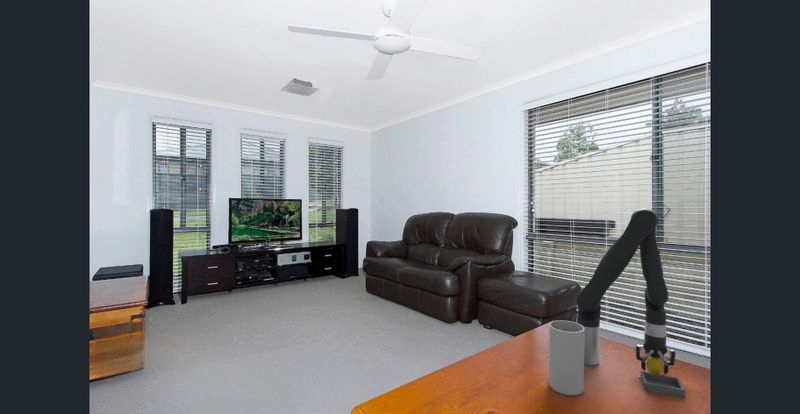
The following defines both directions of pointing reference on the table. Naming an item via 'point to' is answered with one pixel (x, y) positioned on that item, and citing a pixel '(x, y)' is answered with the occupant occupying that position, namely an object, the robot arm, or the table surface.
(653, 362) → the lemon
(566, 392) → the cylinder vase
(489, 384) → the table surface
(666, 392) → the gray open tray
